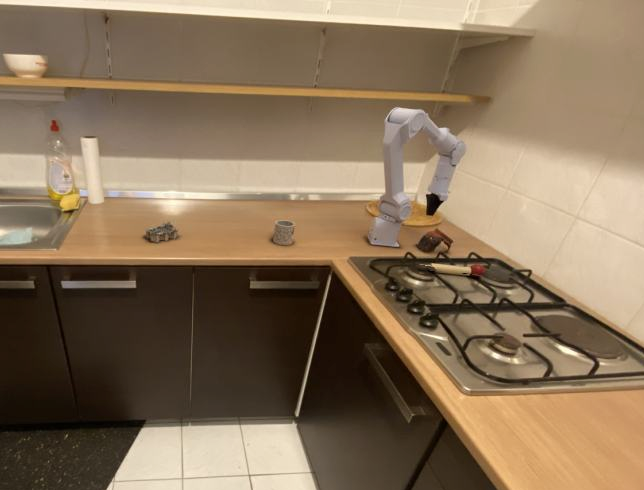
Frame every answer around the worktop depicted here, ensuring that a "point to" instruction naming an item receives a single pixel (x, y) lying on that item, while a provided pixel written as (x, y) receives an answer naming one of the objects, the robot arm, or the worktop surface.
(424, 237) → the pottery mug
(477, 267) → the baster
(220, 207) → the worktop surface
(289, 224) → the mug
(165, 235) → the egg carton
